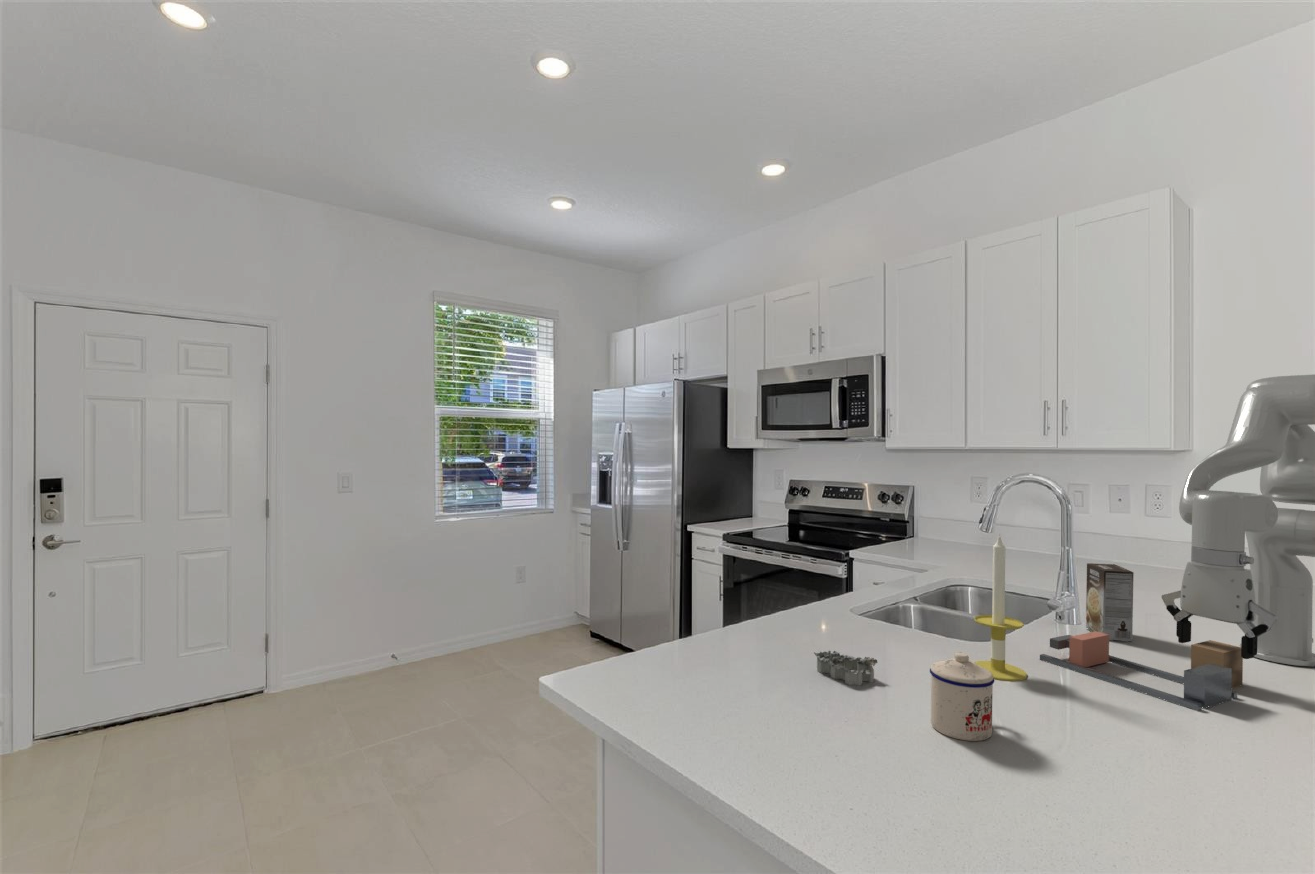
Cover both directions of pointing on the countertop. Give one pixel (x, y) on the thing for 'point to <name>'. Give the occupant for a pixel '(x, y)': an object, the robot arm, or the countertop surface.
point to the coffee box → (1109, 600)
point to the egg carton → (846, 667)
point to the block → (1219, 658)
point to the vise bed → (1199, 682)
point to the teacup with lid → (961, 699)
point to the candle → (999, 623)
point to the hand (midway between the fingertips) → (1214, 649)
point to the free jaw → (1084, 648)
